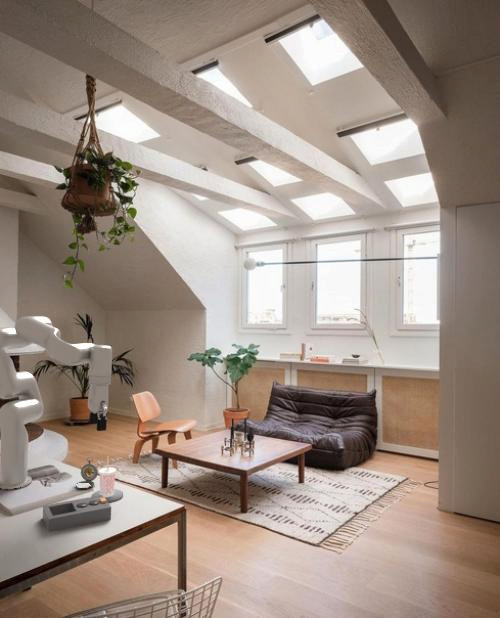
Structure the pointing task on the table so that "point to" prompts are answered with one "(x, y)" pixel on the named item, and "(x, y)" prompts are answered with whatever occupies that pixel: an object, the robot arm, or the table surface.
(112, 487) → the beverage cup
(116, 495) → the slate mat
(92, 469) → the pocket watch
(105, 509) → the gray desk organizer
